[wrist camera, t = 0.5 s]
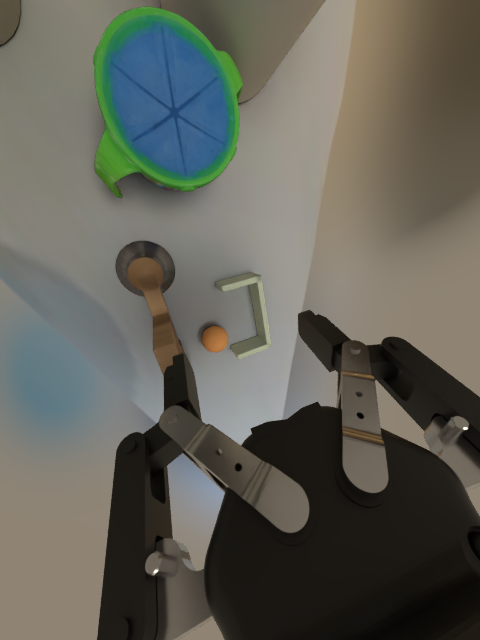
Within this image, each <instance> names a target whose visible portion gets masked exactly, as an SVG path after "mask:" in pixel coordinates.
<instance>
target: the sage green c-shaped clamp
mask: <svg viewBox="0 0 480 640" xmlns="http://www.w3.org/2000/svg"><path fill="white" fill-rule="evenodd" d="M215 283H216V287H217V288H218V289H220V290H221V291H222V292H225V291H229V290H232V289H235V288H239V287H242V286H246V285H249V288H250V294H251V299H252V305H253V311H254V317H255V322H256V328H257V334H258V336H256V337H253V338H250V339H248V340H245V341H242V342H239V343H237V344H234V345H231V350H232V351H233V353H234V354H235V355H236V357H237V358H238V360H239V359H241V358H244V357H247V356H249V355H252V354H254V353H257V352H260V351H262V350H265V349H267V348H270V347H271V340H270V333H269V327H268V320H267V313H266V306H265V300H264V293H263V286H262V279H261V275H258V274H255V273H252V272H250V273H246V274H243V275H239V276H235V277H232V278H228V279H224V280H221V281H217V282H215Z"/></svg>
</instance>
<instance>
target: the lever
mask: <svg viewBox="0 0 480 640" xmlns="http://www.w3.org/2000/svg"><path fill="white" fill-rule="evenodd" d="M128 278H129V281H130V282H131V284H132V285H133V286H134V287H136V288H137V289H139V290H142V291H143V293H144V295H145V298H146V301H147V303H148V306H149V308H150V311H151V314H152V316H153V351H154V354H155V356H156V359H157V361H158V363H159V366H160V368H161V371H162V373H163V375H164V372H165V370H166V368H167V367H168V366H171V365H173V359H172V357H173V356H175V355H178V354H181V353H183V352H184V351H183V348H182V345H181V342H180V340H178V338H177V335H176V332H175V329H174V326H173V323H172V321H171V318H170V315H169V312H168V309H167V306H166V303H165V300H164V298H163V295H162V292H161V289H160V285H161V283H162V281H163V271H162V268H161V266H160V265H159V263H158V262H157V261H156V260H154V259H152V258H149V257H140V258H137V259H135V260H134V261H133V262H132V263H131V264H130V266H129V268H128Z"/></svg>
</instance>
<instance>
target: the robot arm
mask: <svg viewBox="0 0 480 640" xmlns="http://www.w3.org/2000/svg"><path fill="white" fill-rule="evenodd" d="M19 17H20V0H0V45H1V44H4V43H5V42H6V41H7V40H8V39H9V38H10V37H12V36H13V34H14V32H15V30H16V28H17V26H18V23H19ZM298 331H299V334H300V336H301V338H302V340H303V341H304V342H305V343H306V344H307V345H308V347H309V348H310V349H311V350H312V352H313V353H314V354H315V355H316V356H317V358H318V359H319V360H320V361H321V362H322V364H323V365H324V366H325V367H326V368H327V369H328V371H329V372H331V371H334V370H336V371H337V372H338V382H337V383H338V384H337V406H336V408H335V407H329V406H320V404H319V403H318V402H315V403H313V404H310V405H308V406H306V407H303V408H301V409H300V410H299V411H297V412H296V413H295V414H293V415H292V416H291V417H289V418H288V419H286V420H278V421H270V422H266V423H263V424H261V425H258V426H256V427H253V428H251V432H252V434H251V435H250V436H249V437H248V438H247V439H246V440H245V441H244V442H243V444H242V445H239V444H238V443H236V442H235V441H234V440H232V439H231V438H229V437H228V436H226V435H225V434H224V433H222V432H221V431H219V430H218V429H217V428H215V427H214V426H212V425H210V424H207V425H206V424H205V423H203V422H202V419H201V413H200V407H199V400H198V394H197V388H196V382H195V376H194V372H193V369H192V367H191V365H190V363H189V361H188V359H187V357H186V355H185V353H184V352H183V353H181V354H178V355H175V356H173V357H172V359H173V365H171V366H168V367H167V368H166V370H165V372H164V412H163V413H162V415H161V417H160V419H159V422H158V423H157V424H156V425H155V426H153V427H152V428H151V429H149V430H148V431H146V432H145V433H144V434H142V433H139V432H135V433H132V434H130V435H128V436H127V437H125V438H124V439H123V440H122V442H121V443H120V444H119V446H118V449H117V452H116V460H115V470H114V480H113V489H112V500H111V509H110V519H109V529H108V539H107V549H106V558H105V568H104V578H103V588H102V597H101V607H100V618H99V627H98V637H97V640H179V639H181V638H183V637H184V636H186V635H188V634H189V633H191V632H192V631H194V630H196V629H197V628H199V627H200V626H202V625H204V624H205V623H207V622H209V621H210V620H212V619H213V618H214V620H215V621H216V623H217V625H218V627H219V629H220V631H221V633H222V635H223V637H224V639H225V640H480V516H479V514H478V513H477V511H476V509H475V508H474V506H473V504H472V503H471V500H470V498H469V496H468V494H467V492H466V491H468V490H470V489H473V488H476V487H478V486H480V397H479V396H478V395H476V394H475V393H474V392H472V391H471V390H470V389H468V388H467V387H466V386H464V385H463V384H462V383H461V382H459V381H458V380H457V379H455V378H454V377H453V376H451V375H450V374H449V373H447V372H446V371H445V370H443V369H442V368H441V367H440V366H438V365H437V364H436V363H434V362H433V361H432V360H430V359H429V358H428V357H427V356H425V355H424V354H423V353H421V352H420V351H419V350H417V349H416V348H415V347H413V346H412V345H411V344H410V343H408V342H407V341H406V340H404V339H401V338H398V337H387V338H385V339H383V341H382V343H381V344H378V345H365V344H364V343H362V342H360V341H356V340H351V339H349V338H348V337H347V336H346V335H345V334H344V333H343V332H341V331H340V330H339V329H338V328H337V327H335V325H334V324H333V323H331V322H330V321H329V320H328V319H327V318H326V317H323V316H321V315H319V314H318V315H315V314H314V313H313V312H312V311H310V310H307V311H304V312H301V313H299V314H298ZM375 380H377V381H378V382H379V383H380V384H381V385H382V386H383V387H384V388H385V389H386V390H387V391H388V393H389V394H390V395H391V396H392V397H393V398H394V399H395V400H396V401H397V402H398V403H399V404H400V405H401V406H402V407H403V409H404V410H405V411H406V412H407V413H408V414H409V415H410V416H411V417H412V418H413V420H415V422H416V423H417V424H418V425H419V426H420V427H421V428H422V429H423V430H424V439H425V441H426V443H427V444H428V446H429V449H430V451H431V452H430V451H429V450H427V449H425V448H423V447H421V446H418V445H416V444H414V443H412V442H410V441H408V440H405V439H403V438H401V437H399V436H397V435H395V434H392V433H390V432H388V431H386V430H384V429H382V428H380V420H379V411H378V403H377V394H376V386H375ZM182 453H183V454H184V455H185V456H186V457H187V458H188V459H189V460H191V462H193V463H194V464H195V465H196V466H197V467H198V468H199V469H200V470H201V471H203V472H204V473H205V474H206V475H207V476H208V477H209V478H210V479H211V480H212V481H213V482H214V483H215V484H216V485H217V486H218V487H219V488H220V489H221V490H223V491H224V492H225V495H224V499H223V502H222V505H221V508H220V511H219V514H218V518H217V521H216V524H215V527H214V531H213V534H212V538H211V540H210V544H209V547H208V550H207V554H206V558H205V565H204V569H203V570H201V571H197V570H196V569H195V568H194V566H193V564H192V562H191V560H190V555H189V552H188V549H187V548H186V546H185V545H184V544H182V543H180V542H178V541H175V540H173V537H172V524H171V510H170V497H169V486H168V485H169V484H168V473H167V472H168V471H167V465H168V464H169V463H171V462H172V461H173V460H174V459H176V458H177V457H178V456H179V455H180V454H182Z"/></svg>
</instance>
